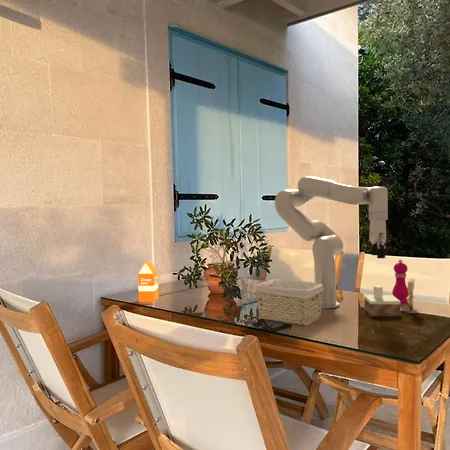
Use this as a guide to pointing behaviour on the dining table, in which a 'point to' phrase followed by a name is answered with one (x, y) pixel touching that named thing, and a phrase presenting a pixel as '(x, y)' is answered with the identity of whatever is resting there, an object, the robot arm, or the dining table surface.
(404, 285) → the pepper mill
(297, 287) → the storage basket
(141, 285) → the orange juice
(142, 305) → the dining table surface
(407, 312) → the silver metal disc
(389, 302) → the cover
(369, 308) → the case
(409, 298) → the key
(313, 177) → the robot arm
